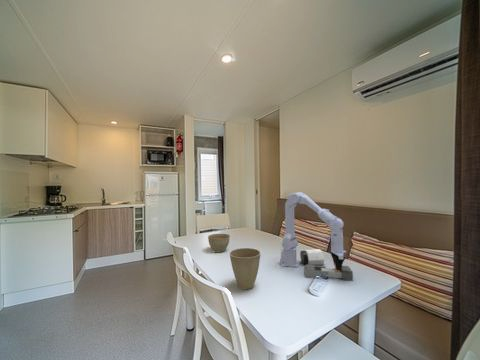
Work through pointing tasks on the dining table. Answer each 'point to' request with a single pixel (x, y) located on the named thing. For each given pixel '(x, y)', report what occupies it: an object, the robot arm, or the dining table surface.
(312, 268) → the sleeve
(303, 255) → the jar
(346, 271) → the dark gray rectangular block
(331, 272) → the slab with tan knob
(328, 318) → the dining table surface
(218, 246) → the planter bowl
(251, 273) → the plant pot
